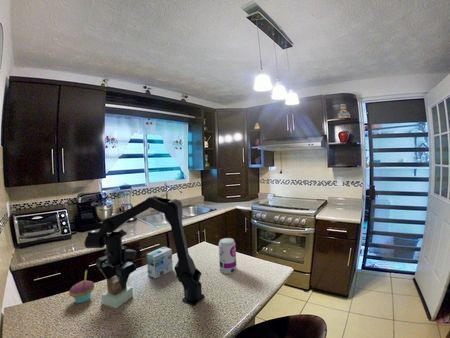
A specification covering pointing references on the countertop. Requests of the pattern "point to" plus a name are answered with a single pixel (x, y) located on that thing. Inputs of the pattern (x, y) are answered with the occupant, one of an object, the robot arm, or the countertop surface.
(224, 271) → the supplement can
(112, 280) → the walnut cube
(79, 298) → the cupcake
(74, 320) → the countertop surface
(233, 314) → the countertop surface
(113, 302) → the sage block
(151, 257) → the light bulb box
